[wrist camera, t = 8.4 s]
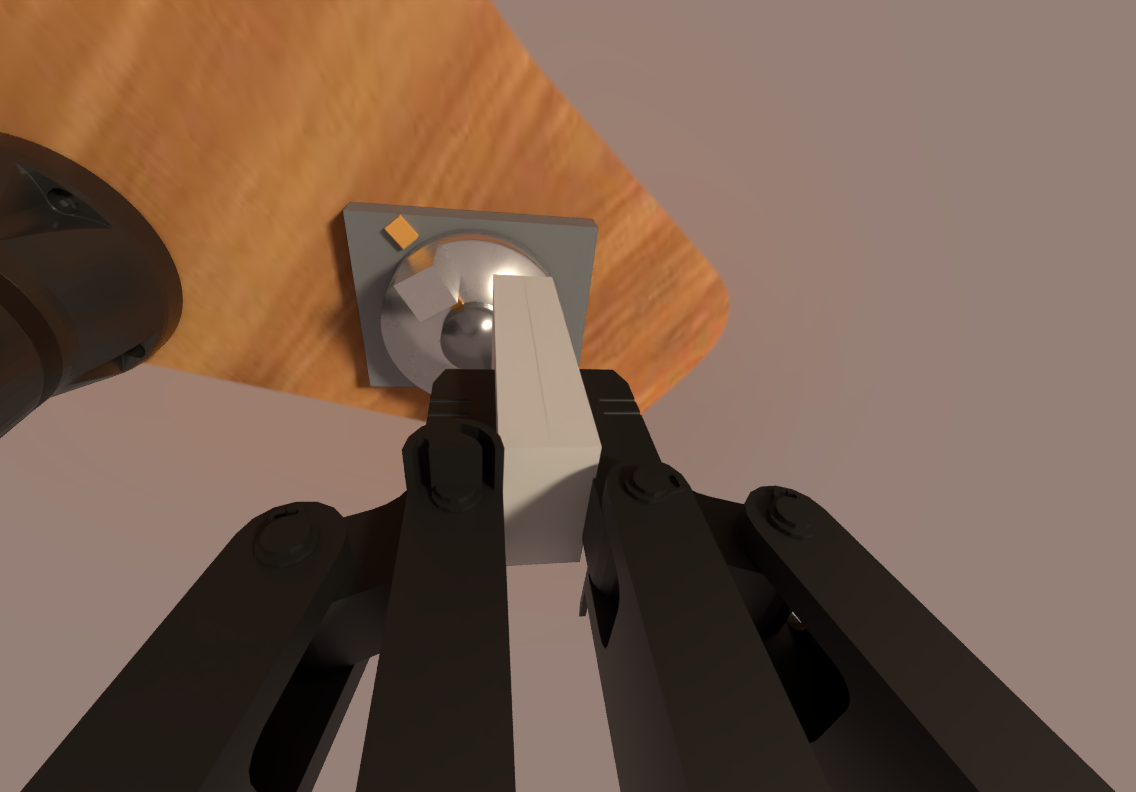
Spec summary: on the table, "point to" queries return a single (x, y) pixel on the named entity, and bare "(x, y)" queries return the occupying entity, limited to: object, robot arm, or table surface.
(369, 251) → the gray square base plate
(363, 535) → the robot arm
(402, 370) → the silver metal dome
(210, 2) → the table surface
